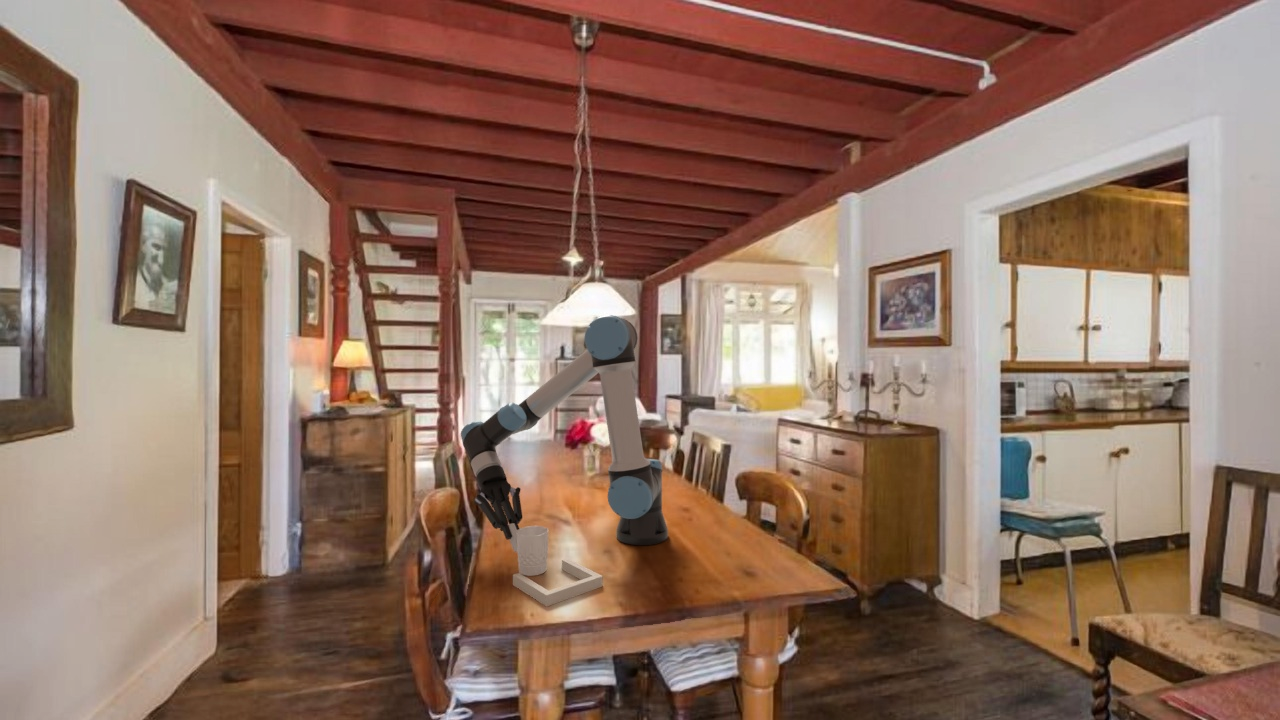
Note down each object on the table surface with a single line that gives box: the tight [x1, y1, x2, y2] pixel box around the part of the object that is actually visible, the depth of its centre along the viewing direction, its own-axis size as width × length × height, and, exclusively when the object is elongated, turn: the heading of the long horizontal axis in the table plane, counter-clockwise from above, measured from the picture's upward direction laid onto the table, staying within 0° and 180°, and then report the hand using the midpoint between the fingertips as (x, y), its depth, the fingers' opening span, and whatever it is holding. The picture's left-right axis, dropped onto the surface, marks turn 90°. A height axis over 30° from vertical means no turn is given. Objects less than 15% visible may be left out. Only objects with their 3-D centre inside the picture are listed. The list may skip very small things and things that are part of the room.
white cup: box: [516, 525, 550, 577], centre depth 135 cm, size 8×8×10 cm
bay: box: [512, 558, 604, 607], centre depth 127 cm, size 15×15×2 cm
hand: (518, 548), depth 138 cm, fingers closed
